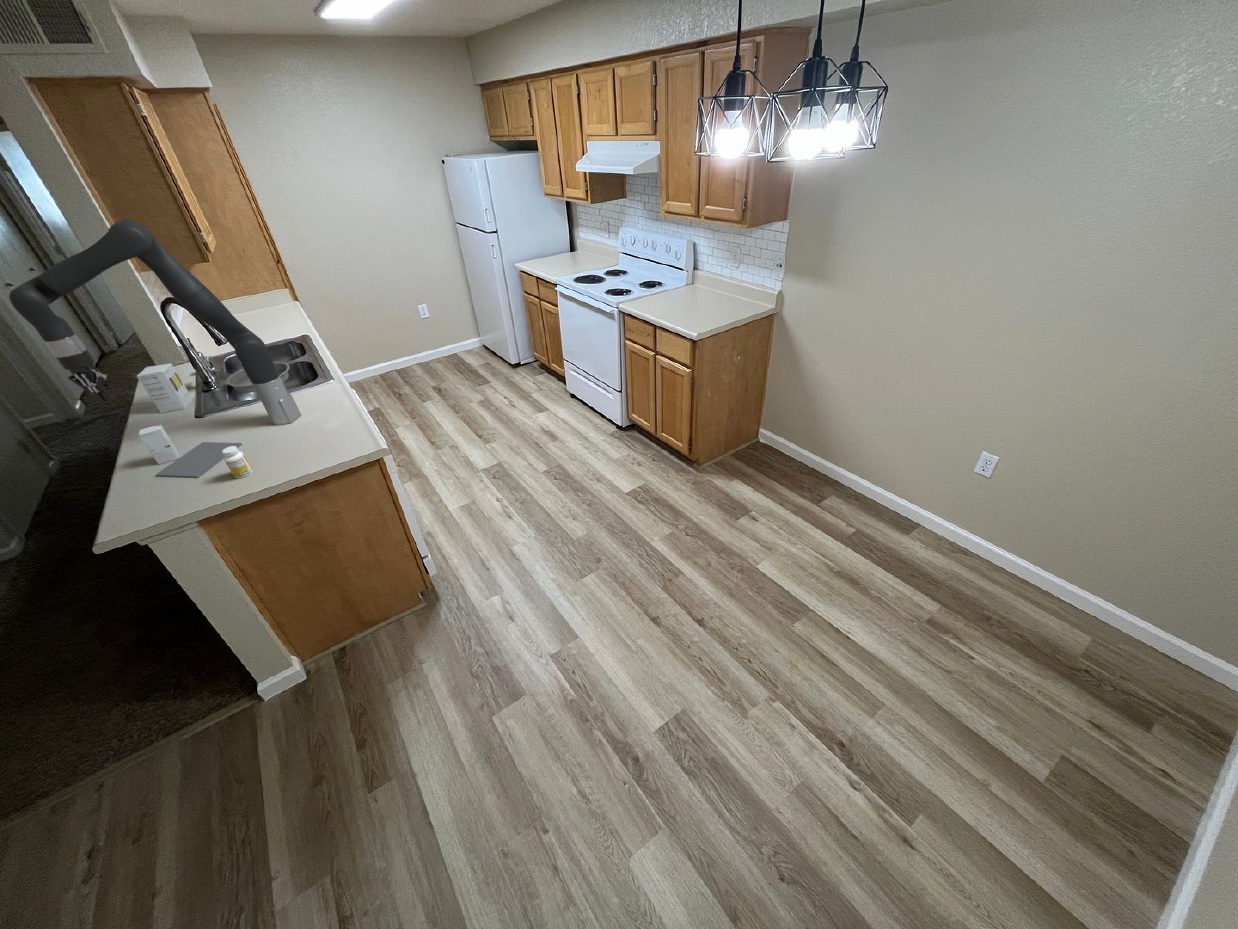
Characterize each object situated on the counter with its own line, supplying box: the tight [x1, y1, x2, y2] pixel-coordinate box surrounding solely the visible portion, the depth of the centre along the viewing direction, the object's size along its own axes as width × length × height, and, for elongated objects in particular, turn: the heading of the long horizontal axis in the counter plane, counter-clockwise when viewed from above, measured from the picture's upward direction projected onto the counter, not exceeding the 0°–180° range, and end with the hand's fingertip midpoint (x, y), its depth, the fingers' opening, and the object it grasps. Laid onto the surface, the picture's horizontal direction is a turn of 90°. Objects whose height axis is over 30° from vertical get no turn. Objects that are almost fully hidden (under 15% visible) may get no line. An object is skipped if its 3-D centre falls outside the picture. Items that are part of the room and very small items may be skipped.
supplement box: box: [136, 363, 194, 414], centre depth 207 cm, size 10×9×17 cm
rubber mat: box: [155, 441, 243, 479], centre depth 176 cm, size 16×20×1 cm
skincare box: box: [138, 424, 180, 465], centre depth 174 cm, size 6×4×12 cm
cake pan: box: [225, 361, 290, 394], centre depth 226 cm, size 25×25×4 cm
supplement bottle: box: [222, 446, 254, 479], centre depth 165 cm, size 5×5×10 cm
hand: (106, 401), depth 166 cm, fingers closed
